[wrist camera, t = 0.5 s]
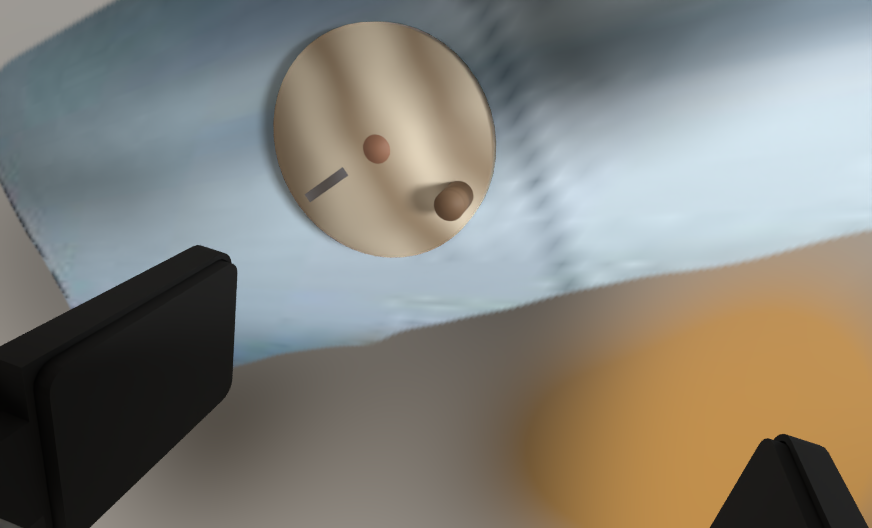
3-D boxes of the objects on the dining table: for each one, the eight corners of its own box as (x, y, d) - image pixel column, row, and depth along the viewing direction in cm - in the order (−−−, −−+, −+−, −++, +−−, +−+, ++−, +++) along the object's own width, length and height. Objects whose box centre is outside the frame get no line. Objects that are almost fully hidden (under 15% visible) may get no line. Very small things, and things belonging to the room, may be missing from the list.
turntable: (407, -34, 34) (382, -41, 31) (541, 184, 37) (532, 201, 34) (245, 109, 42) (210, 117, 38) (367, 283, 44) (345, 305, 41)
